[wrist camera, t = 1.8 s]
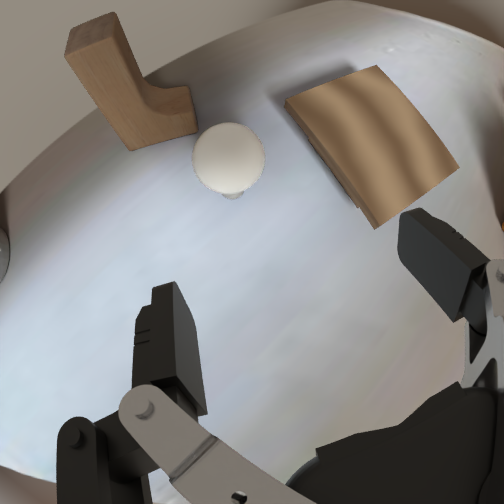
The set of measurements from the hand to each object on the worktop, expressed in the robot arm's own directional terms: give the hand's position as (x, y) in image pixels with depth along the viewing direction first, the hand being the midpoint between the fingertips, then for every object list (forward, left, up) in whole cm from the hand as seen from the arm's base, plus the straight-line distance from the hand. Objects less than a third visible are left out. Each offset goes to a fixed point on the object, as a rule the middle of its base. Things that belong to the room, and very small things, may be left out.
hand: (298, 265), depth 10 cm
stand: (+19, +7, -22) cm, 30 cm away
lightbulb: (+3, +11, -22) cm, 25 cm away
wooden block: (0, +23, -22) cm, 32 cm away
